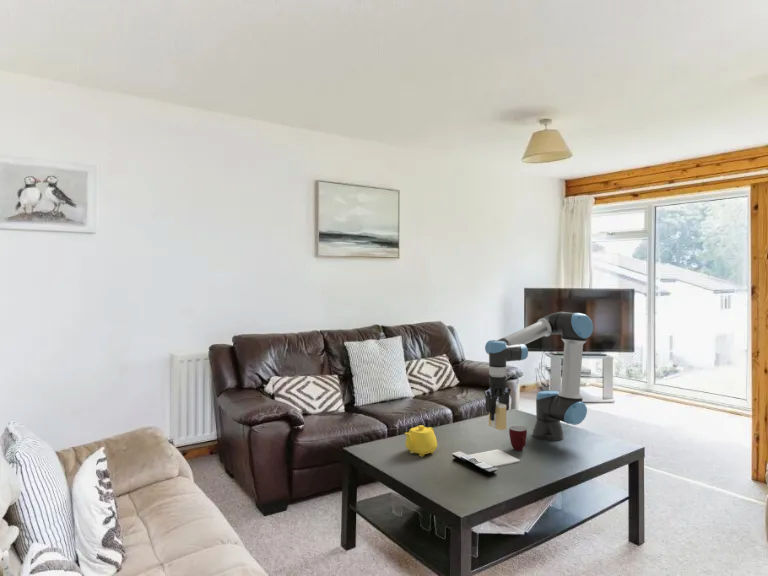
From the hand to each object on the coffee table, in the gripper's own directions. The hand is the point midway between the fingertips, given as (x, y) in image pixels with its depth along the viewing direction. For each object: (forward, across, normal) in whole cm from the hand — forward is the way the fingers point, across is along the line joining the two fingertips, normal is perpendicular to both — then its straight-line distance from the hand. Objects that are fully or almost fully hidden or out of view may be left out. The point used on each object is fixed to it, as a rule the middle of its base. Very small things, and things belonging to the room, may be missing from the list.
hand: (497, 426), depth 227 cm
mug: (+15, -16, -4) cm, 22 cm away
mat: (+15, +4, 0) cm, 15 cm away
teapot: (+15, +28, -22) cm, 39 cm away
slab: (0, 0, 0) cm, 0 cm away
